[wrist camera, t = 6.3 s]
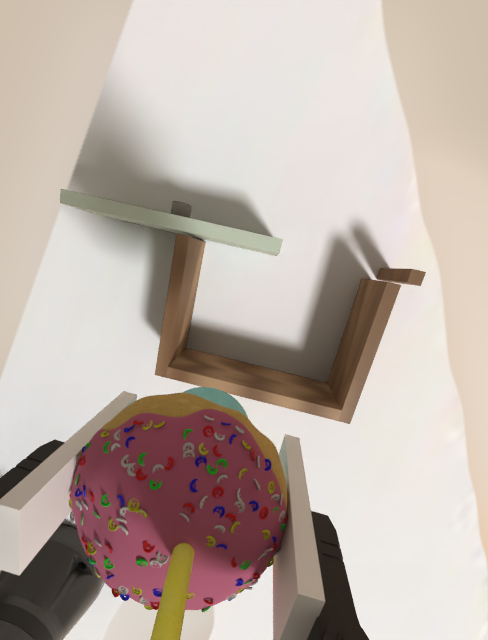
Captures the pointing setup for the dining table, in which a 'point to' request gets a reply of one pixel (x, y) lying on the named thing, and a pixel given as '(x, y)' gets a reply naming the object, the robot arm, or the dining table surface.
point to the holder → (267, 383)
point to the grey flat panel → (173, 222)
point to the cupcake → (180, 503)
